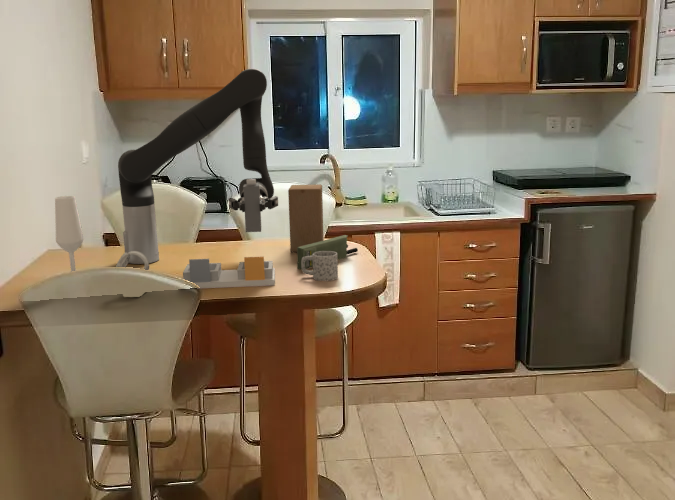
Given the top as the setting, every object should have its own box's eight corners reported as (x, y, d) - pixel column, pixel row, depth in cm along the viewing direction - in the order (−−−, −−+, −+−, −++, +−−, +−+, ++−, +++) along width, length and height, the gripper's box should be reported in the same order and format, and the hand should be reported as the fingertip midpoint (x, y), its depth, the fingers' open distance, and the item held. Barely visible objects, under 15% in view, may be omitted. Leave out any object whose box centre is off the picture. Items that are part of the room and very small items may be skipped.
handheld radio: (295, 269, 192) (352, 252, 210) (303, 271, 190) (360, 254, 208) (295, 246, 190) (352, 231, 209) (303, 248, 188) (360, 233, 206)
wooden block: (322, 252, 211) (320, 188, 206) (290, 252, 211) (288, 189, 207) (323, 245, 221) (322, 184, 216) (293, 245, 221) (291, 184, 216)
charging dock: (181, 289, 174) (178, 260, 172) (187, 276, 185) (185, 250, 184) (274, 285, 175) (273, 257, 174) (275, 273, 187) (274, 246, 185)
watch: (123, 291, 173) (119, 249, 170) (154, 291, 172) (150, 249, 170) (115, 297, 168) (110, 254, 165) (146, 297, 167) (142, 254, 164)
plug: (245, 232, 176) (242, 180, 173) (246, 229, 180) (243, 178, 177) (261, 231, 176) (258, 180, 173) (261, 228, 180) (259, 178, 177)
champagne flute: (76, 292, 172) (66, 199, 167) (55, 290, 175) (44, 198, 169) (94, 285, 178) (84, 195, 173) (74, 283, 181) (64, 195, 175)
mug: (340, 275, 184) (339, 251, 183) (334, 281, 178) (334, 257, 176) (305, 273, 186) (304, 250, 185) (298, 280, 180) (297, 255, 179)
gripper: (228, 185, 189) (223, 194, 173) (279, 183, 190) (279, 192, 174) (229, 211, 191) (225, 223, 174) (280, 210, 192) (280, 221, 175)
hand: (252, 207), depth 174 cm, fingers closed on plug, 4 cm apart
